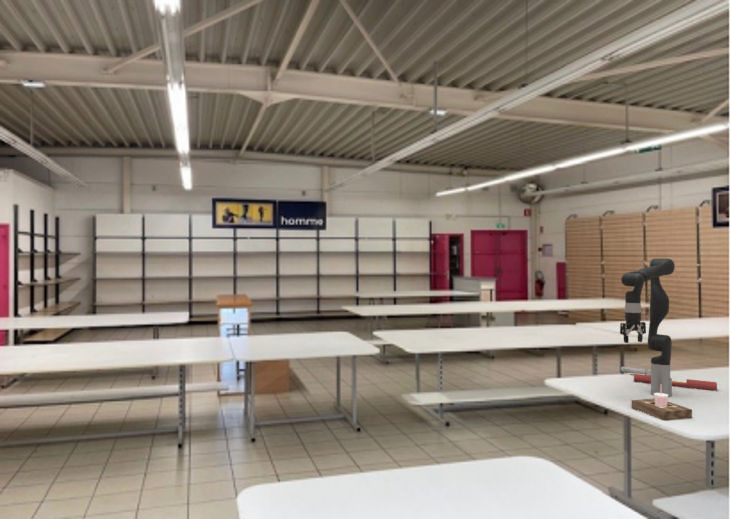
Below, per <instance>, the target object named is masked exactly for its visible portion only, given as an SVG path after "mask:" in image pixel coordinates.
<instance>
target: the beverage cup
mask: <svg viewBox="0 0 731 519" xmlns="http://www.w3.org/2000/svg"><path fill="white" fill-rule="evenodd" d="M653 396H654V399H655V405H656V406H659V407H667V401H668V398H669V397H668V395H667V394H664V393H662V384H660V393H654V395H653Z"/></svg>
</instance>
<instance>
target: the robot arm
mask: <svg viewBox="0 0 731 519" xmlns="http://www.w3.org/2000/svg"><path fill="white" fill-rule="evenodd" d="M674 271H675V262H674V260H672V259H671V258H652V259H651V261H650V263H649V266H647V267H643V268H640V269H637V270H634V271H633V270H632V271H629V272H625V273H624V274H623V275H622V276H621V279H620V281H621V283H622V284H623V286H625V287H633V289H632V290H628V291H626V292H625V297H624V298H625V299H624V300H625V301H624V302H625V305H624V320H625V322H620V326H619V334H620V335H623V342H624V343H625V344H629V342H630V341H629V335H630V333H632V332H634V331H635V332H636V333H637V342H639V343H642V342H643V335H644V334H646V333H647V326H646V322H645V321H642V305H641V302H642V301H641V300H642V299H641V295H642V290H643V288H644V284H645V283H647V282H648V281H650V295H649V296H650V297H649V326H648V335H647V347H648V350H650V351H655V352H661V354H660V355H657V356H653V357H651V358H650V369H651V384H650V395H652V396H654V393H660V384H662V393H664V394H667V395H668V398H669V397H671V396H672V393H673V392H672V391H673V390H672V389H673V388H672V387H673V386H672V377H671V361H672V359H671V358H672V343H673V342H672V338H671V336H670V335H668V334H660V333H658V329H659V327H660V324H661V323H662V321H663V320H664V319H665V318H666V317H667V315H668V314H669V311H670V298H669V296H668V294H667V292H666V290H665V289H664V288H663V286H662V285H661V280H660V277H663V276H669V275H672V274H673V273H674Z"/></svg>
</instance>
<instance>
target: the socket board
mask: <svg viewBox="0 0 731 519" xmlns="http://www.w3.org/2000/svg"><path fill="white" fill-rule="evenodd" d="M630 402H631V404H630V405H631V406H630V407H631V409H632V408H633V410H635V409H636V410H635V411H637V410H639V411H638V412H640V411H642V412H641V413H643V412H644V413H643V414H645V413H646V415H648V414H649V415H648V416H651V417H653V416H654V418H656V419H659V420H662V421H672V420H685V418H686V419H692V418H693V409H692V408H689V407H686V406H683V405H680V404H676V403H673V402H670V401H668V400H667V407H659V406H656V405H655V398H643V399H633V400H632V399H631V400H630Z"/></svg>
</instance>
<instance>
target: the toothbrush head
mask: <svg viewBox="0 0 731 519" xmlns="http://www.w3.org/2000/svg"><path fill="white" fill-rule="evenodd" d="M619 371H620V372H621V373H625V374H641V375H651V368H649V369H646V368H645V369H644V368H639V367H631V366H620V368H619Z"/></svg>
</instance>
